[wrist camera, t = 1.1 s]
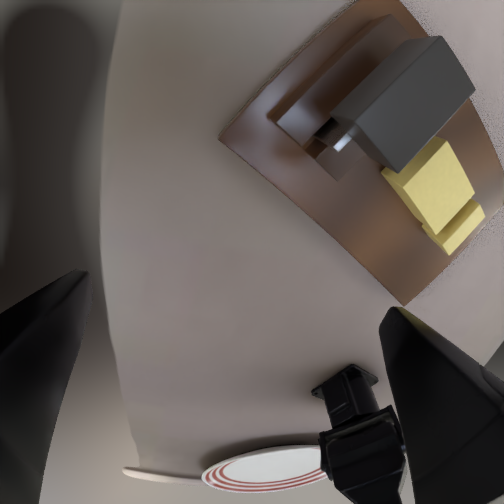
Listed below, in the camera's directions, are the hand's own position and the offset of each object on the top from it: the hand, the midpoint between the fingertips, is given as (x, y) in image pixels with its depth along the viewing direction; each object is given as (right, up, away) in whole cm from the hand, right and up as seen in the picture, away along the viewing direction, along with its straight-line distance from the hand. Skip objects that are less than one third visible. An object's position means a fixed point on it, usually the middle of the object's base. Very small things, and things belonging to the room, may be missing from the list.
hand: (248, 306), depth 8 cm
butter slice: (+16, +5, +13) cm, 21 cm away
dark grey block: (+6, +11, +8) cm, 15 cm away
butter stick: (+12, +7, +11) cm, 18 cm away
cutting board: (+11, +8, +12) cm, 19 cm away
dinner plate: (+5, -37, +39) cm, 54 cm away
